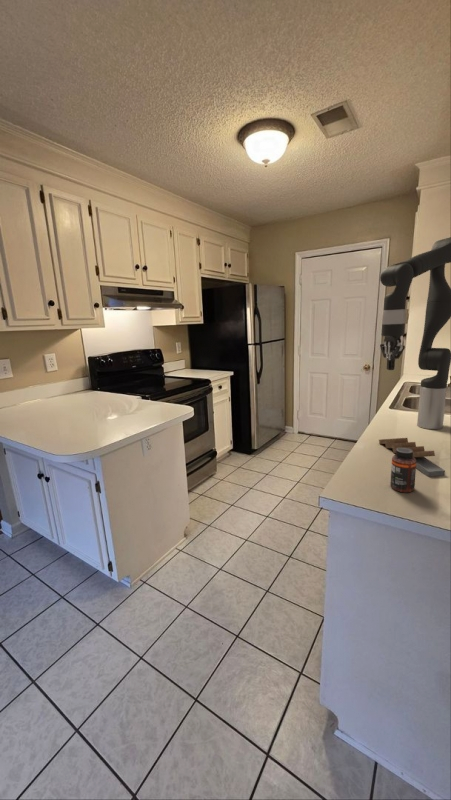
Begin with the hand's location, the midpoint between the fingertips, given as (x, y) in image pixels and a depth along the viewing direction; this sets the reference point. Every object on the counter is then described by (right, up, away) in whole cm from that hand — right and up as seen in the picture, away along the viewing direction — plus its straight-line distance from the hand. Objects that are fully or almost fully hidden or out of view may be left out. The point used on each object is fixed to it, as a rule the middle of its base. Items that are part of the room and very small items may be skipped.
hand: (390, 369), depth 123 cm
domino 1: (-2, -27, 0) cm, 27 cm away
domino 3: (-1, -29, -9) cm, 31 cm away
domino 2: (-1, -28, -4) cm, 29 cm away
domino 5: (-1, -31, -17) cm, 35 cm away
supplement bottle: (-13, -36, -33) cm, 50 cm away
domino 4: (-1, -30, -14) cm, 33 cm away
